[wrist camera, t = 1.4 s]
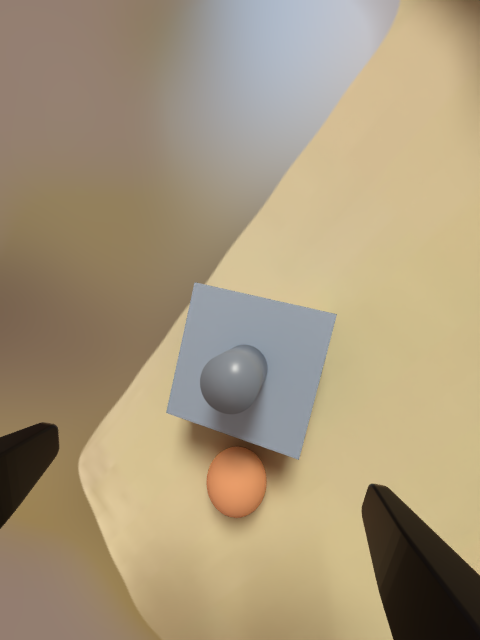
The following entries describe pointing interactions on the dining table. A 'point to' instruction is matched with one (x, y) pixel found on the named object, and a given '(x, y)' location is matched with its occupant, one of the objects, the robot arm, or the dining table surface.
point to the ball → (236, 482)
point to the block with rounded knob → (250, 367)
